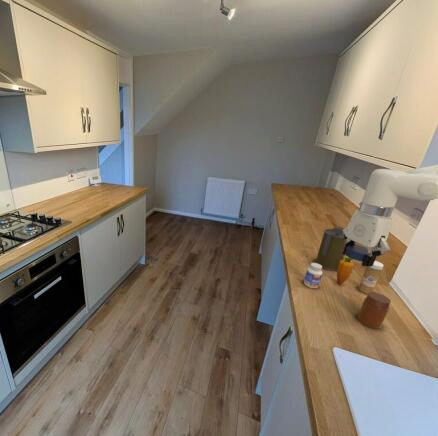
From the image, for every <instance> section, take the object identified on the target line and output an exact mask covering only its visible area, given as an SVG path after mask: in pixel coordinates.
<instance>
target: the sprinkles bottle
mask: <svg viewBox="0 0 438 436" xmlns="http://www.w3.org/2000/svg"><path fill="white" fill-rule="evenodd" d="M383 268H384V264H383V263H382V262H380V261H378V260H375V262H374V264H373V266H366V267H365V270H364V272H363V274H362V277H361V279H360V283H359V286H358V287H357V289H358V291H360V292H361V293H364V294H368V293H369V292H374V289H375V287H376V285H377V282H378V279H379V277H380V274H381V271H382V270H383Z"/></svg>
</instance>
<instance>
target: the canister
mask: <svg viewBox="0 0 438 436" xmlns="http://www.w3.org/2000/svg"><path fill="white" fill-rule="evenodd" d="M345 228H346V227H342V226H333V228H326V229H324V230H323V235H322V239H321V242H320V244H319V245H320V246H319V249H318V252H317V254H316V255H317V256H316V258H315V261H314V263H317V264H320V265H321V266H322V269H325V270H328V271H333V272H337V270H338V266H339V262H340V260H344V259H345V258H344V257H343V256H345V257H346V255H344V254H343V251H344V248H345V245H346V243H345V238H344V233H343V229H345Z"/></svg>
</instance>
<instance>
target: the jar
mask: <svg viewBox="0 0 438 436" xmlns="http://www.w3.org/2000/svg"><path fill="white" fill-rule="evenodd" d="M366 294H367V293H366ZM391 303H392V301H391V299H390V298H389V297H388V296H386V295H384V294H382V293H379V292H376V291H372V292H369V293H368V294H367V295H366V297H364V299H363V302H362V305H361V307H360V309H359V312H358V314H357V320H358V321H359V322H360V323H361V324H362V325H364V326H366V327H368V328H371V329H376V330H377V329H381V328H382V326H383V324H384V321H385V319H386V317H387V315H388V312H389V310H390V305H391Z"/></svg>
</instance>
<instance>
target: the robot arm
mask: <svg viewBox="0 0 438 436" xmlns="http://www.w3.org/2000/svg"><path fill="white" fill-rule="evenodd" d="M399 197H403V198H407V199H411V200H416V201H424V202H425V201H426V202H427V201H435V200H438V164H434V165H430V166H423V167H419V168H414V169H411V170H409V171H407V172H405V171H403V170H399V169H391V168H377V169H374V170H373V171H372V172H371V174H370V177H369V179H368V181H367V185H366V187H365V190H364V193H363V196H362V199H361V201H360V202H359V203H358V204H359V208H358V209H356V210H355V211H354V213H353V214H352V216H351V218H350V219H349V222H348V224H347V227H344V228H345V229H343V233H344V238H345V243H346V245H345V248H344V251H343V254H344V255H345V256H346V254H345V251H346V248H347V246H349V245H357V244H358V245H359V246H362V247H365V248H367V251H368V255H365V257H364V260H363V262H362V261H361V262H362V263H361V266H362V267H364V268H366V267H367V266H373V264H374V262H375V261H376V260H377V257H380V256H383V255H385V254H387V253H390V252H391V248H390V246H389V244H388V242H387V240H388V237H389V235H390V232H391V226H392V215H393V211H394V209H395V207H396V205H397V201H398V199H399Z"/></svg>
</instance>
